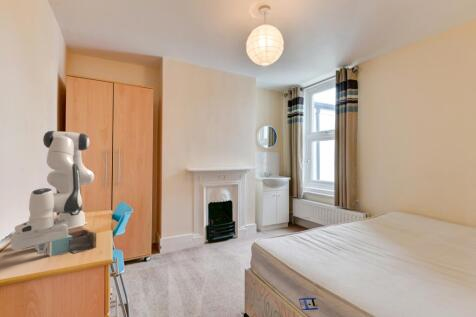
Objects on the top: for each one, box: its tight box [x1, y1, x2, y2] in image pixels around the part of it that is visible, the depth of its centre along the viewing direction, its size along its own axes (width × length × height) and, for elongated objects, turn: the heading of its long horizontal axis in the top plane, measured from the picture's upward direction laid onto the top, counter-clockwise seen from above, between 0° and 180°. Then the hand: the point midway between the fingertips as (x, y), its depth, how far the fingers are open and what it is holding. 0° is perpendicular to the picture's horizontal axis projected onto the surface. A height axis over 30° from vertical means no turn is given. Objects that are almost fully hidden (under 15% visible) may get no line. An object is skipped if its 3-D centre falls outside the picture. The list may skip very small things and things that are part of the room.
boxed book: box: [46, 235, 73, 257], centre depth 109 cm, size 4×9×7 cm, turn 146°
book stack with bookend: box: [68, 225, 97, 254], centre depth 116 cm, size 18×10×9 cm, turn 56°
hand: (41, 253), depth 104 cm, fingers closed
